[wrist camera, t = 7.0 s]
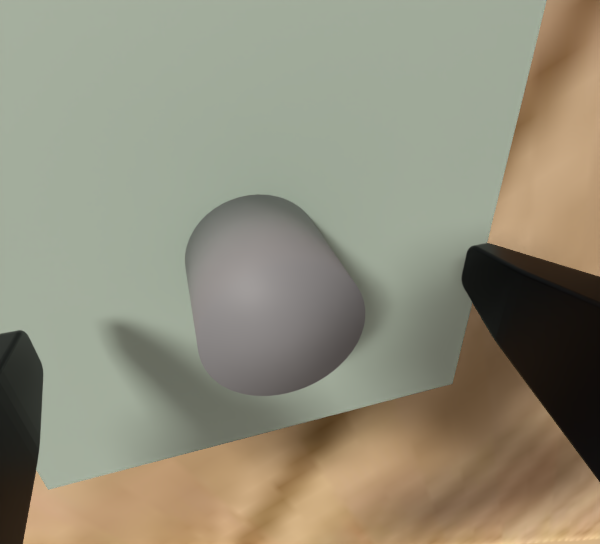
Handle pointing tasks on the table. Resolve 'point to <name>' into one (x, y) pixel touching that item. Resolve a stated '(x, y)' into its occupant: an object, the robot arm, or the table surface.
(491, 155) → the lid
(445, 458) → the table surface
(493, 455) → the table surface
